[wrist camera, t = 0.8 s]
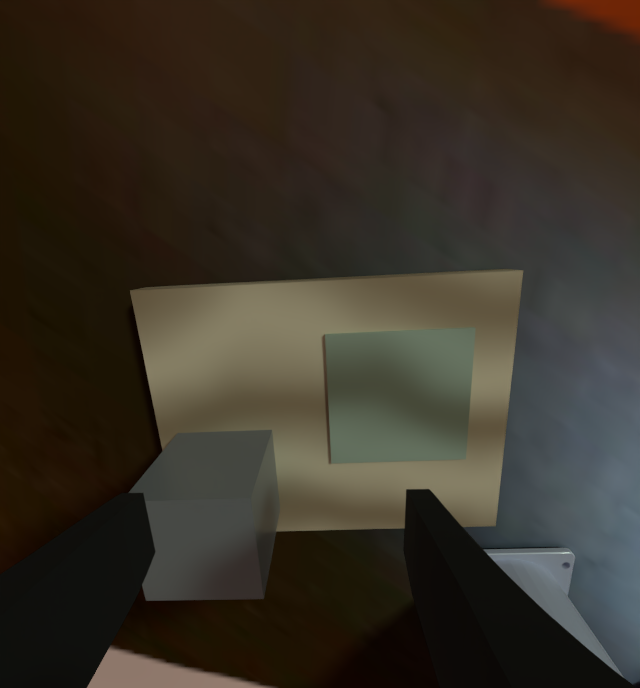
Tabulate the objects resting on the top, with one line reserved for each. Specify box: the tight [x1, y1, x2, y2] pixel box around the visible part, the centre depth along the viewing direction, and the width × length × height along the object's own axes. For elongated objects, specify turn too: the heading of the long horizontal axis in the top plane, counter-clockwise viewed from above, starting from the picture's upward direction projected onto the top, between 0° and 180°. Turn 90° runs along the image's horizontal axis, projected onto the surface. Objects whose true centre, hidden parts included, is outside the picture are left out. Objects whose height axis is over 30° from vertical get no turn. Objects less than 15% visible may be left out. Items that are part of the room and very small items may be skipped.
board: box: [130, 269, 523, 531], centre depth 16 cm, size 14×18×6 cm
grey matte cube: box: [129, 430, 280, 601], centre depth 16 cm, size 5×5×5 cm
